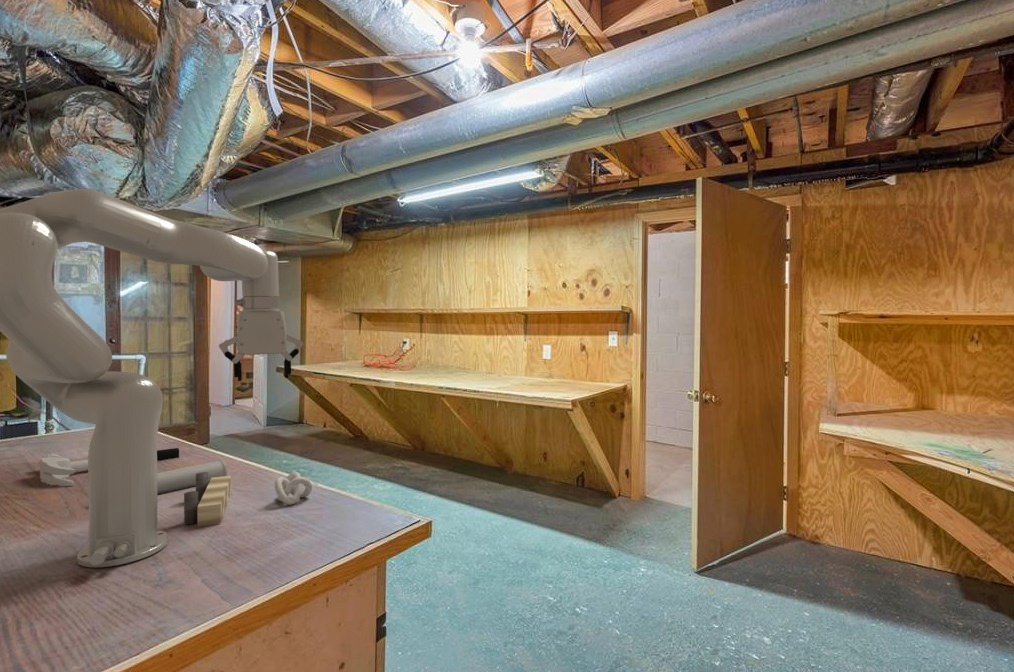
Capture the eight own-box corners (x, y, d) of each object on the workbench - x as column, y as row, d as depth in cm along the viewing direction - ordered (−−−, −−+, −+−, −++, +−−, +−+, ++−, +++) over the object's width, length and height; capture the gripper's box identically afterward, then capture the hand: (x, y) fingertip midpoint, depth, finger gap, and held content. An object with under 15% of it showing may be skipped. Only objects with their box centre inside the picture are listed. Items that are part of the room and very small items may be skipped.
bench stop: (220, 523, 98) (220, 494, 98) (181, 529, 95) (181, 498, 95) (230, 492, 116) (230, 467, 116) (198, 496, 113) (198, 470, 113)
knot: (266, 500, 111) (266, 475, 111) (301, 492, 117) (301, 468, 117) (279, 509, 106) (279, 482, 106) (315, 500, 112) (315, 474, 112)
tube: (104, 492, 105) (228, 465, 125) (98, 479, 108) (220, 455, 128) (102, 513, 106) (225, 483, 126) (96, 500, 109) (217, 473, 129)
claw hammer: (169, 439, 153) (37, 453, 131) (191, 451, 138) (46, 470, 116) (168, 456, 153) (36, 473, 131) (190, 471, 138) (45, 493, 116)
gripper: (216, 304, 104) (219, 383, 105) (303, 304, 112) (305, 378, 113) (218, 305, 111) (221, 379, 112) (300, 305, 119) (302, 374, 120)
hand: (263, 378), depth 112 cm, fingers open, 9 cm apart
